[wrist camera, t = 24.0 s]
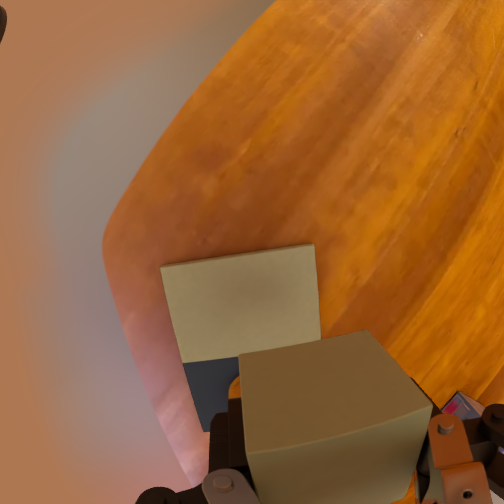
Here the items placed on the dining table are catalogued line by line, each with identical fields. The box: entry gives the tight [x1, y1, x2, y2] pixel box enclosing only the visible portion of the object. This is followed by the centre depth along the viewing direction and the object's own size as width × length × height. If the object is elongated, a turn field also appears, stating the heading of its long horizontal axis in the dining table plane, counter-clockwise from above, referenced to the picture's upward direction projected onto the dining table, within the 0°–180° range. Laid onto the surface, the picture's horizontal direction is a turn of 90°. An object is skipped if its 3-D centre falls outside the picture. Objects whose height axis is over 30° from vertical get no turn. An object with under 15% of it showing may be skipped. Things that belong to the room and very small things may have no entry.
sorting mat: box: [160, 243, 321, 432], centre depth 31 cm, size 14×20×1 cm
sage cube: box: [238, 330, 433, 504], centre depth 10 cm, size 5×5×5 cm
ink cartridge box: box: [441, 392, 504, 454], centre depth 30 cm, size 10×6×14 cm, turn 56°
